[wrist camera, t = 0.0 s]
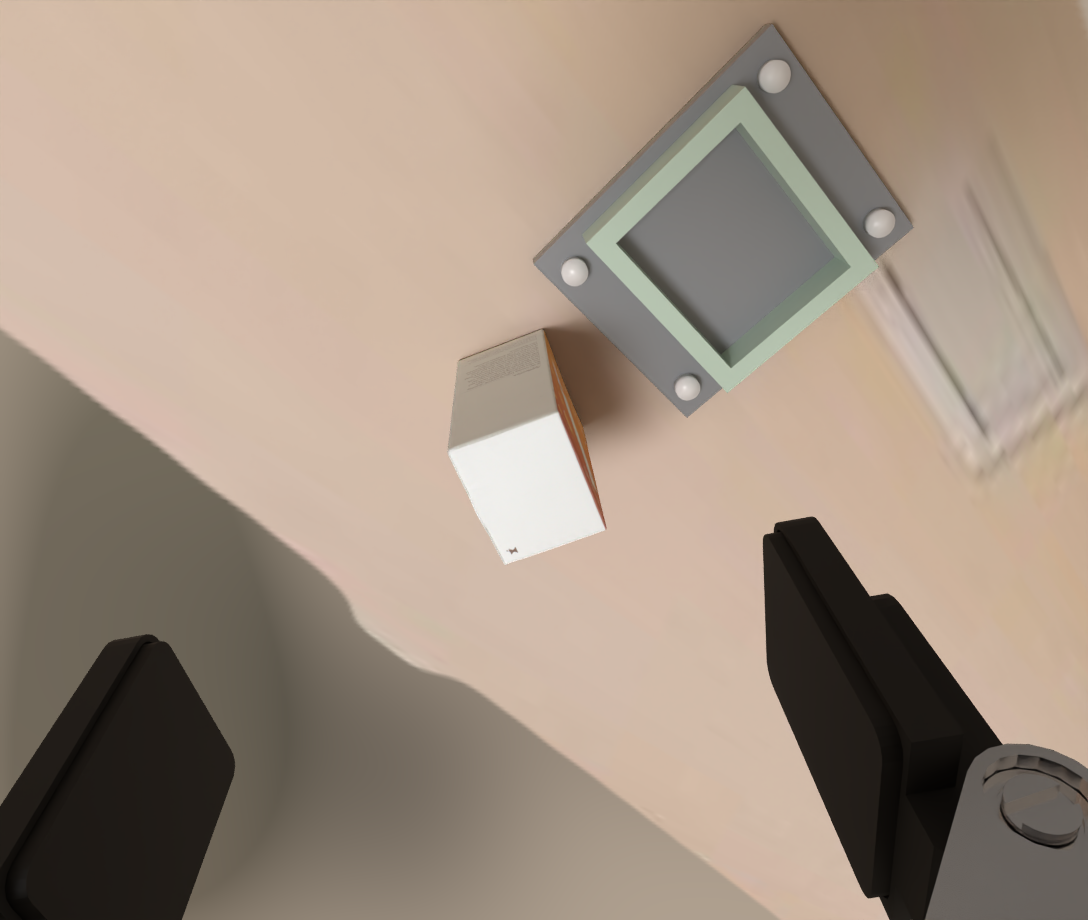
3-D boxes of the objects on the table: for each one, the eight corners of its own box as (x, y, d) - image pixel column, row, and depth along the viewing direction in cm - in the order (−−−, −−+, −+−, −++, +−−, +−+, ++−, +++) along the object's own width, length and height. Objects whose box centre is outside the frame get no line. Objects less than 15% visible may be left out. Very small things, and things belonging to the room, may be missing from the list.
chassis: (532, 259, 46) (535, 274, 42) (765, 24, 40) (787, 22, 37) (683, 410, 51) (695, 433, 48) (904, 223, 46) (934, 236, 43)
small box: (584, 426, 52) (609, 533, 40) (501, 456, 52) (502, 569, 41) (544, 324, 48) (559, 410, 36) (455, 358, 48) (442, 452, 37)
